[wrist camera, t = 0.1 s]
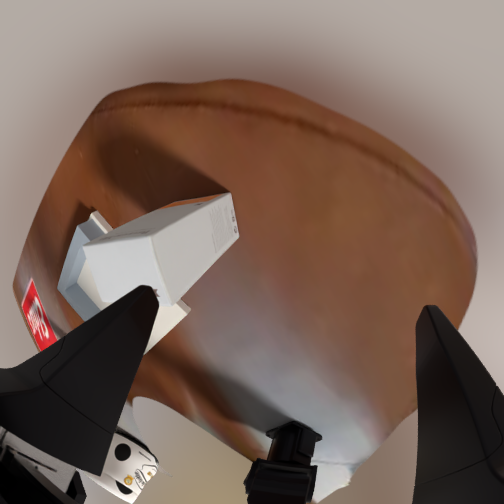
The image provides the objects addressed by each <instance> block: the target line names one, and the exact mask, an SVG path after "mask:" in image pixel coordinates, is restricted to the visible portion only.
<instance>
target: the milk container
mask: <svg viewBox="0 0 504 504" xmlns="http://www.w3.org/2000/svg"><path fill="white" fill-rule="evenodd" d="M158 466H159V462H158V460H157V458H156V457H155V456H154V455H153V454H152V453H151V452H150V451H149V450H148V449H146V448H145V447H144V446H142V445H141V444H139V443H138V442H136V441H134V440H132V439H131V438H129V437H127V436H125V435H123V434H120V433H117V432H115V433H114V436H113V439H112V442H111V445H110V448H109V452H108V455H107V458H106V461H105V464H104V468H103V471H102V474H101V476H100V477H99V476H96V475H94V474H91V473H88V472H86V471H84V474H85V475H86V476H88V477H89V478H90V479H91V480H93V481H94V482H96V483H97V484H99V485H100V486H101V487H103V488H104V489H106V490H107V491H109V492H111V493H112V494H114V495H116V496H117V497H120V498H121V499H123V500H125V501H127V502H129V503H131V504H132V503H133V502H134V501H135V500H136V498H137V496H138V495H139V494H140V492H141V491H142V489H143V487H144V485H145V484H146V482H147V481H148V480H149V479H151V478H152V477H153V476H154V475H155V473H156V472H157V469H158Z"/></svg>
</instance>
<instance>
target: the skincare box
mask: <svg viewBox="0 0 504 504" xmlns="http://www.w3.org/2000/svg"><path fill="white" fill-rule="evenodd" d="M238 238H239V233H238V228H237V222H236V217H235V212H234V207H233V202H232V196H231V193H223V194H218V195H212V196H207V197H202V198H196V199H189V200H183V201H176V202H173V203H171V204H168V205H166V206H164V207H161V208H159V209H157V210H155V211H152V212H150V213H148V214H146V215H143V216H141V217H139V218H137V219H135V220H132V221H130V222H128V223H126V224H124V225H122V226H120V227H118V228H116V229H114V230H112V231H110V232H108V233H106V234H104V235H102V236H100V237H98V238H96V239H94V240H92V241H90V242H88V243H86V244H84V245H83V250H84V253H85V256H86V259H87V262H88V265H89V268H90V271H91V273H92V276H93V279H94V282H95V284H96V287H97V290H98V292H99V295H100V298H101V300H102V301H103V302H108V303H113V302H115V301H116V300H118V299H120V298H121V297H123V296H124V295H126V294H127V293H129V292H130V291H132V290H133V289H135V288H136V287H138V286H139V285H149V286H151V287H152V288H153V290H154V292H155V294H156V296H157V299H158V301H159V306H167V307H171V306H173V305H174V304H175V303H176V302H177V301H178V300H179V299H180V298H181V297H182V296H183V295H184V294H185V293H186V292H187V291H188V290H189V289H190V287H191V286H192V285H193V284H194V283H195V282H196V281H197V280H198V279H199V278H200V277H201V276H202V275H203V274H204V273H205V272H206V271H207V270H208V269H209V267H210V266H211V265H212V264H213V263H214V262H215V261H216V260H217V259H218V258H219V257H220V256H221V255H222V254H223V253H224V252H225V251H226V250H227V249H228V248H229V247H230V246H231V245H232V244H233V243H234V242H235V241H236V240H237V239H238Z"/></svg>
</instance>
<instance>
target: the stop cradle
mask: <svg viewBox="0 0 504 504" xmlns="http://www.w3.org/2000/svg"><path fill="white" fill-rule="evenodd" d="M112 230H114V229H113V228H112V227H111V226H110V225H109V224H108V223H107V221H106V220H105V219H104V218H103V217H102V216H101V215H100V213H99V212H98V211H95V212H93V213H91V215H90V217H89V220H88V221H87V222H84V223H82V224H80V225H78V226H77V228H76V231H75V233H74V236H73V239H72V242H71V245H70V248H69V250H68V254H67V257H66V260H65V263H64V266H63V269H62V273H61V276H60V280H59V283H58V287H57V289H58V290H59V291H60V293H61V294H62V295H63V296H64V298H65V299H66V300H67V301H68V303H69V304H70V305H71V306H72V307H73V308H74V310H75V311H76V312H77V313H78V314H79V315H80V317H81V318H82V319H83V320H84V321H87V320H88V319H90V318H91V317H93V316H94V315H96V314H97V313H99V312H100V311H102V310H103V309H105V308H106V307H107V306H109V305H110V304H112V303H108V302H103V301H102V300H101V298H100V295H99V292H98V290H97V287H96V284H95V282H94V279H93V276H92V273H91V271H90V268H89V265H88V262H87V259H86V256H85V253H84V250H83V245H84V244H86V243H88V242H90V241H92V240H94V239H96V238H98V237H100V236H102V235H104V234H106V233H108V232H110V231H112ZM190 310H191V308H190V307H189V306H187V305H186V304H185V303H184V302H183V301H182V300H181V299H179V300H178V301H177V302H176V303H175V304H174V305H173V306H171V307H167V306H159V310H158V313H157V316H156V319H155V322H154V326H153V329H152V332H151V336H150V339H149V342H148V345H147V347H146V350H145V352H144V354H145V353H147V352H148V351H149V350H150V349H151V348H152V347H153V346H154V345H155V344H156V343H157V342H158V341H159V340H160V339H161V338H163V337H164V336H165V335H166V334H167V333H168V332H169V331H170V330H171V329H172V328H173V327H174V326H175V325H176V324H178V323H179V322H180V321H181V320H182V319H183V318H184V317H185V316H186V315H187V314H188V313H189V312H190Z"/></svg>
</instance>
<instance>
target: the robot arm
mask: <svg viewBox="0 0 504 504" xmlns="http://www.w3.org/2000/svg"><path fill="white" fill-rule="evenodd" d="M158 310H159V301H158V299H157V296H156V294H155V292H154V290H153V288H152V287H151V286H149V285H139V286H138V287H136V288H135V289H133V290H132V291H130V292H129V293H127V294H126V295H124V296H123V297H121V298H120V299H118V300H116V301H115V302H113V303H112V304H110V305H109V306H107V307H106V308H105V309H103V310H102V311H100V312H99V313H97V314H96V315H94V316H93V317H91V318H90V319H88V320H87V321H85V322H84V323H82V324H81V325H80V326H78V327H77V328H75V329H74V330H72V331H71V332H69V333H68V334H67V335H66V336H64V337H62V338H61V339H59V340H58V341H57V342H55V343H54V344H52V345H51V346H49V347H48V348H46V349H44V350H43V351H41V352H40V353H38V354H36V355H35V356H33V357H32V358H30V359H28V360H26V361H25V362H23V363H22V364H20V365H18V366H16V367H13V368H7V369H3V368H0V504H84V501H85V499H86V497H87V496H86V493H85V490H84V487H83V484H82V481H81V478H80V474H79V472H78V471H77V470H76V468H79V469H81V470H83V471H86V472H88V473H91V474H94V475H96V476H99V477H100V476H101V474H102V471H103V468H104V464H105V461H106V458H107V455H108V452H109V448H110V445H111V442H112V439H113V436H114V433H115V430H116V427H117V424H118V421H119V418H120V415H121V413H122V410H123V407H124V404H125V402H126V399H127V396H128V393H129V391H130V388H131V385H132V383H133V380H134V378H135V375H136V372H137V370H138V367H139V365H140V362H141V360H142V357H143V355H144V352H145V350H146V347H147V345H148V342H149V339H150V336H151V332H152V329H153V326H154V322H155V319H156V316H157V313H158ZM416 382H417V400H418V451H417V466H416V479H415V486H414V494H413V502H412V504H504V395H503V393H502V392H501V390H500V389H499V387H498V386H496V383H495V381H494V380H493V378H492V377H491V375H490V374H489V372H488V371H487V370H486V368H485V367H484V365H483V364H482V362H481V361H480V360H479V358H478V357H477V355H476V354H475V353H474V351H473V350H472V349H471V347H470V346H469V345H468V343H467V342H466V341H465V340H464V338H463V337H462V336H461V334H460V333H459V332H458V330H457V329H456V328H455V327H454V325H453V324H452V323H451V322H450V321H449V319H448V318H447V317H446V316H445V315H444V313H443V312H442V311H441V310H440V309H439V307H438V306H436V305H425V306H424V307H423V309H422V311H421V314H420V316H419V318H418V320H417V323H416ZM266 436H267V437H269V438H271V439H273V440H272V444H271V447H270V450H269V454H268V457H267V460H264V459H261V458H257V460H256V461H253V463H252V466H251V469H250V471H249V473H248V475H247V477H246V479H245V480H244V483H243V484H244V485H245V488H246V494H249V495H248V498H247V502H248V504H306V503H310V502H311V500H312V496H313V492H314V488H315V481H316V474H317V465H314V466H311V465H310V463H311V457H313V454H314V448H315V442H318V441H320V440H322V436H320V435H318V434H316V433H314V432H313V431H311V430H309V429H307V428H305V427H303V426H301V425H300V424H298V423H296V422H290V423H288V424H285V425H283V426H280V427H278V428H276V429H273V430H271V431H268V432H266Z"/></svg>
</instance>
